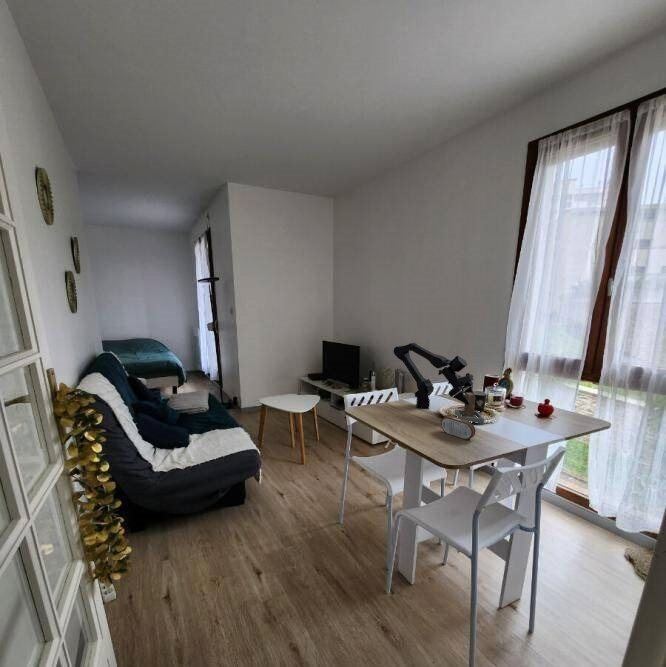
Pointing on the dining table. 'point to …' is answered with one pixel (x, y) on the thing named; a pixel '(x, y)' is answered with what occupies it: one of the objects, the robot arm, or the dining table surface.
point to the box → (475, 419)
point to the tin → (458, 427)
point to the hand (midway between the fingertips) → (472, 402)
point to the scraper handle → (469, 408)
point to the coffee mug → (479, 400)
